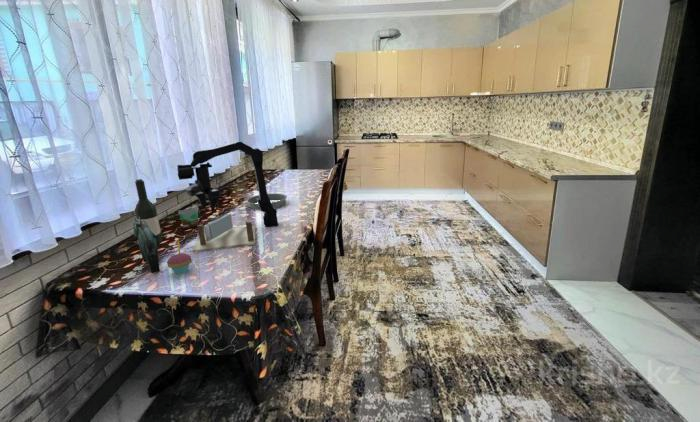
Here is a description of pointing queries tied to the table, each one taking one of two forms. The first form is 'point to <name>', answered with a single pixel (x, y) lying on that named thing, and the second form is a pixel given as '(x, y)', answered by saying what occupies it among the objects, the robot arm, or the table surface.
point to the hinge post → (201, 234)
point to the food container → (189, 216)
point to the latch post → (249, 230)
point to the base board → (227, 240)
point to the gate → (218, 227)
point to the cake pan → (271, 197)
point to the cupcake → (179, 262)
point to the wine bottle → (147, 210)
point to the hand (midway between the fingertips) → (208, 209)
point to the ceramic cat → (147, 244)
